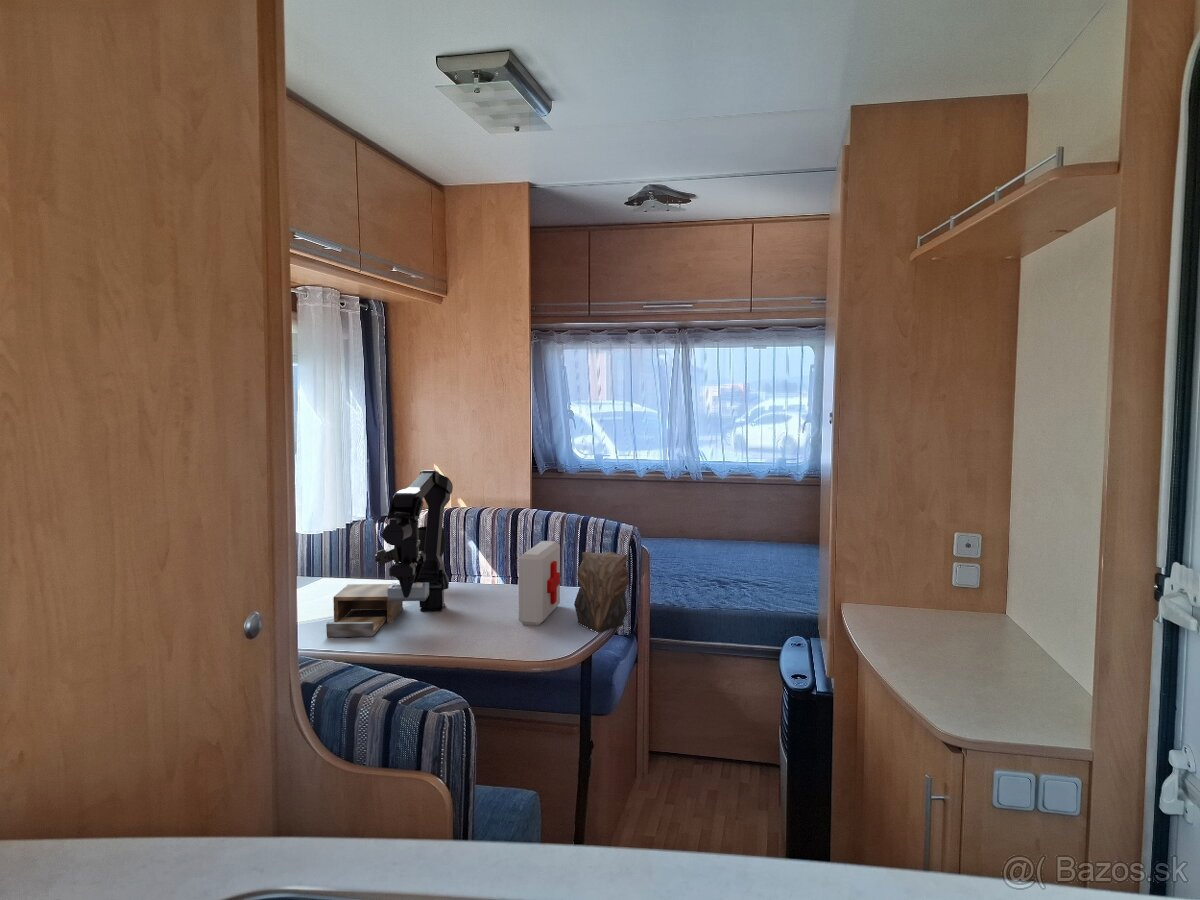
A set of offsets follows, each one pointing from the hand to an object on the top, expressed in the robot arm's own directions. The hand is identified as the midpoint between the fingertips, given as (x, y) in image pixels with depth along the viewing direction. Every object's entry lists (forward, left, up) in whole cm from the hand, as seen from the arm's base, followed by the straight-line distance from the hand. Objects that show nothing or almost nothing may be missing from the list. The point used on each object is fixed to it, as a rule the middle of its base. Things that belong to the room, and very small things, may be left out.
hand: (408, 594), depth 207 cm
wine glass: (+2, -43, -10) cm, 44 cm away
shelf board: (+14, +1, -9) cm, 17 cm away
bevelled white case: (-36, -11, -10) cm, 39 cm away
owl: (-52, -1, -10) cm, 53 cm away
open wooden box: (+14, -12, -10) cm, 21 cm away
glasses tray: (0, 0, -1) cm, 1 cm away
